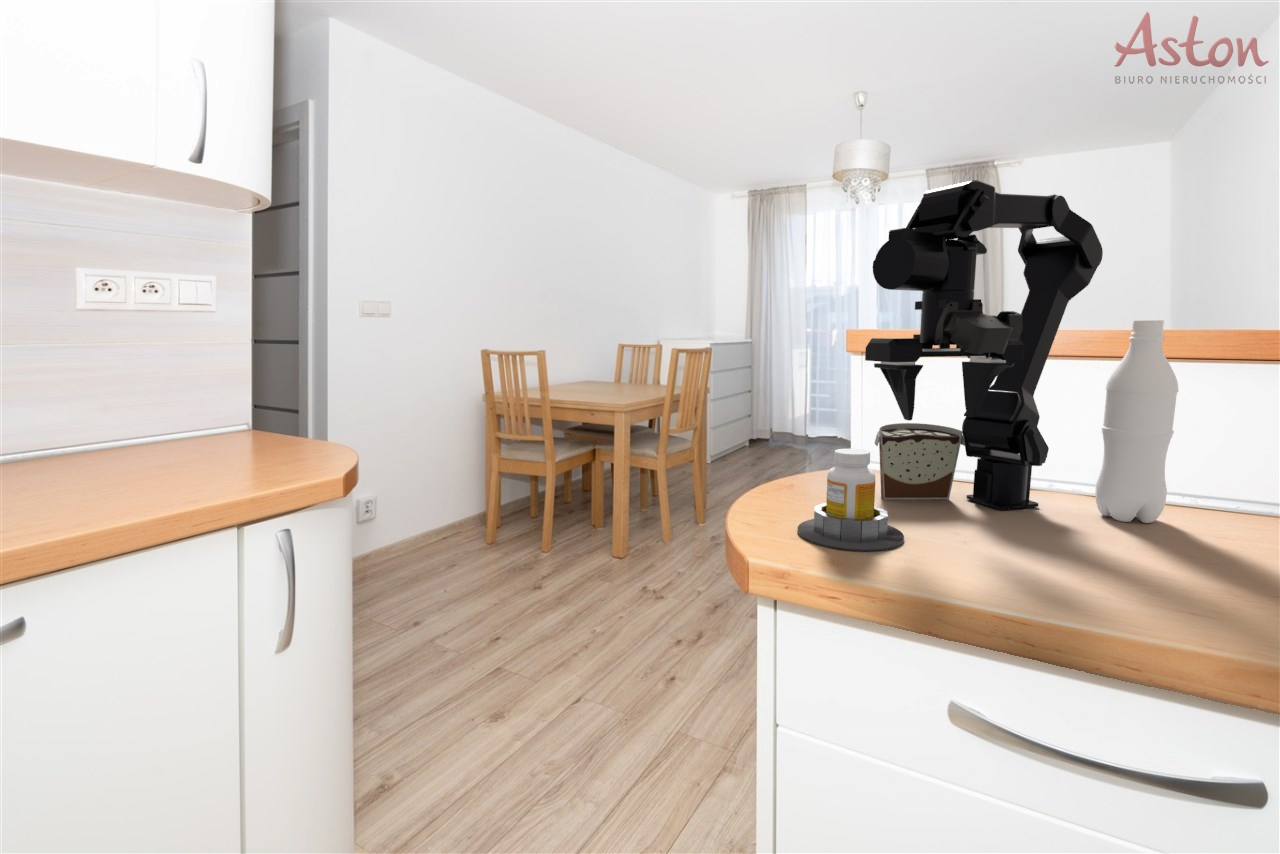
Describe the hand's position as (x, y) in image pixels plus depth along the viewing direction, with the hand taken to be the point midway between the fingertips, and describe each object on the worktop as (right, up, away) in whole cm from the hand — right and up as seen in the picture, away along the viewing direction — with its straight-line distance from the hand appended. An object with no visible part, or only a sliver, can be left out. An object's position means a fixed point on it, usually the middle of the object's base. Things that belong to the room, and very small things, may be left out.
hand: (940, 418), depth 81 cm
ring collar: (-13, -14, -4) cm, 19 cm away
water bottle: (+25, -13, +2) cm, 28 cm away
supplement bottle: (-13, -14, -4) cm, 19 cm away
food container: (+2, -11, +15) cm, 18 cm away
